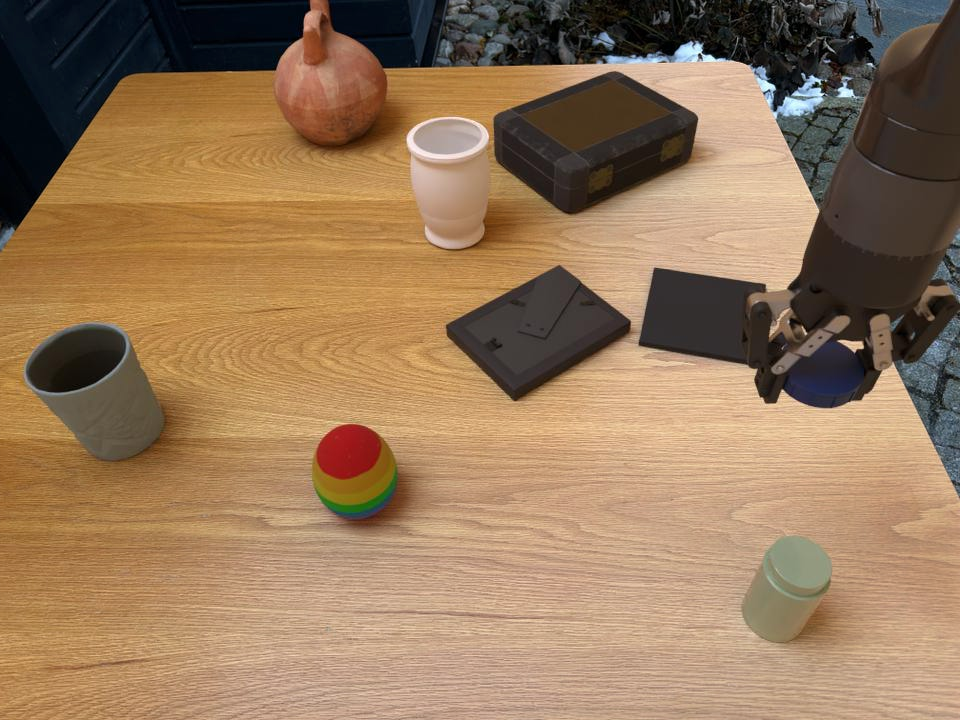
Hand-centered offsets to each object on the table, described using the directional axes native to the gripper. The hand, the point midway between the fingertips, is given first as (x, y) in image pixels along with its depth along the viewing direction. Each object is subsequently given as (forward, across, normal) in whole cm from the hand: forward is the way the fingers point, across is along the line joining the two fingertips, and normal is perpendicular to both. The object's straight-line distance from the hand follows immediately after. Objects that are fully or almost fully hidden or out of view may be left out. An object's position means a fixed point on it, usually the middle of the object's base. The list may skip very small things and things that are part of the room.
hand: (808, 393), depth 57 cm
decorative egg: (+20, -38, +5) cm, 43 cm away
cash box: (+20, -8, +66) cm, 69 cm away
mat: (+20, +2, +29) cm, 35 cm away
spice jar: (+20, 0, -9) cm, 21 cm away
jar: (+20, -29, +48) cm, 60 cm away
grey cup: (+20, -65, +15) cm, 70 cm away
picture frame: (+20, -18, +27) cm, 39 cm away
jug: (+21, -49, +78) cm, 95 cm away
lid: (-3, 0, 0) cm, 3 cm away
